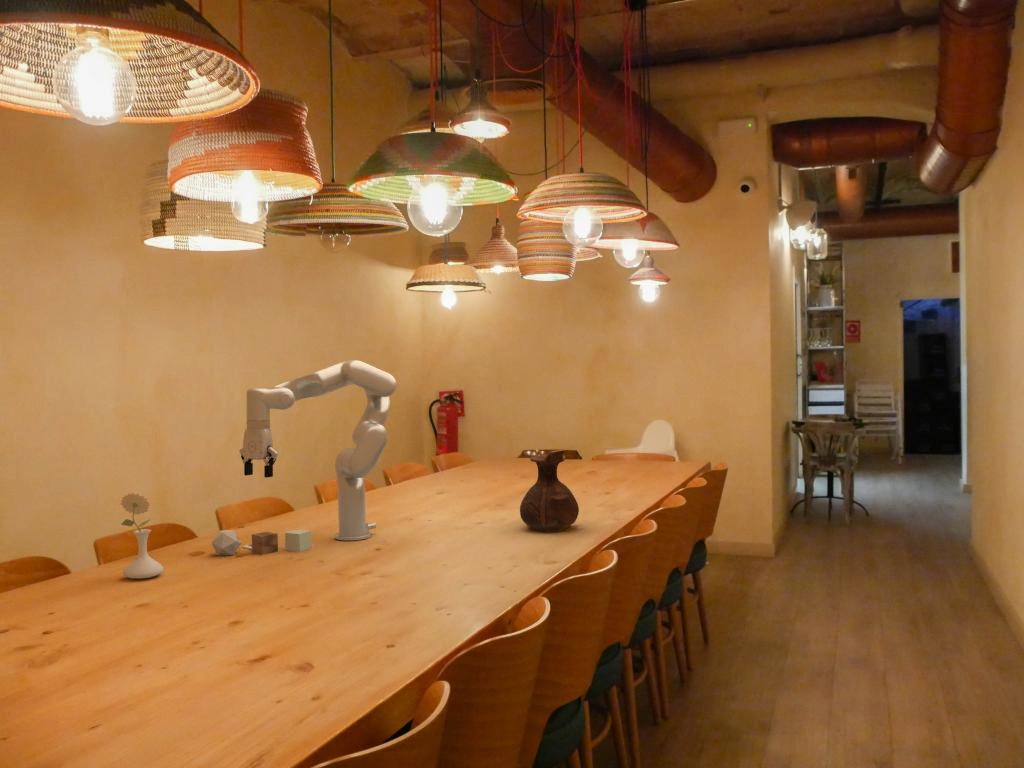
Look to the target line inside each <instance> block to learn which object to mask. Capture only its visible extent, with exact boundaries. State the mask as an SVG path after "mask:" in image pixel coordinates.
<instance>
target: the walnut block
mask: <svg viewBox="0 0 1024 768" xmlns="http://www.w3.org/2000/svg"><path fill="white" fill-rule="evenodd" d="M278 538H279V537H278V533H276V532H270V531H263V532H258V533H253V534H251V544H252V550H251V552H252V553H253V554H259V555H262V556H263V555H267V554H272V553H276V552H279V539H278Z"/></svg>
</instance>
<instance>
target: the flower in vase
mask: <svg viewBox="0 0 1024 768" xmlns="http://www.w3.org/2000/svg"><path fill="white" fill-rule="evenodd" d="M121 499H122V500H121V502H120V505H122V508H123V509H125V511H126V512H128V513H130V514H132V517H131V519H132V520H131V519H124V521H123V522H122V523H121V525H122V526H126V527H132V526H134V525H135V526H136V528H137V529H136V530H133V531H132V533H133V534H134V536H135V537H136V539H137V546H138V553H137V556H136V558H135V559H134V560H132V561H131V563H129V564H127V566H126V567H125V568H124V569H123V571H122V576H124V577H125V578H128V579H134V580H137V579H138V580H139V579H141V580H143V579H149V578H153V577H156V576H159V575H160V574H162V573H163V572H164V570H165V569H164V566H163V565H162V564H161V563H160V562H158V561H157V560H155V559H153V558H152V557H150V556H149V554H148V549H147V548H148V547H147V546H148V545H147V544H148V538H149V535H150V533H151V532H152V529H149V528H148V529H147V528H145V529H142V528H141V529H140V527H142V526H144V525H146V524H148V523H149V522H150V520H151V518H149V519H147V520H145V521H143V522H141V524H139V525H138V524H137V523H136V521H135V519H134V517H135V515H142V514H144V513H147V512H148V511H149V508H150V502H149V501H148V499H147V498H146V497H145V496H144V495H140V494H139V493H136V494H135V493H134V492H132V493H128V494H126V495H123V497H121Z"/></svg>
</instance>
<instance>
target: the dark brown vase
mask: <svg viewBox="0 0 1024 768" xmlns="http://www.w3.org/2000/svg"><path fill="white" fill-rule="evenodd" d="M564 453H566V449H557V450H551V451H549V452H548V453H547V454H540V455H539V454H538V455H534V456H531V457H530V459H529V460H530V461H531V462H533V463H535V464H536V466H537V479H536V481H535V482H534V484H533V485H532V486H531V487H530V488H529V489H528V490H527V492H526V493H525V495H524V497H523V499H522V500H521V503H520V506H519V514H520V515H519V516H520V519H521V520H522V521H523V523H524V524H526V525H527V527H529V528H530V529H531V530H534V531H537V532H554V531H562V530H565V529H567V527H570V526H572V525H573V524H574V523H575V522H576V521H577V519H578V516H579V512H580V507H579V505H578V504H579V503H578V502H577V499H576V498H575V495H574V493H572V491H571V489H570V488H569V487H568V486H567V485H566V484H565V483H563V482H561V481H560V480H559V478H558V466H559V465H560V463H563V462H565V460H566V456H565V454H564Z"/></svg>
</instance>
